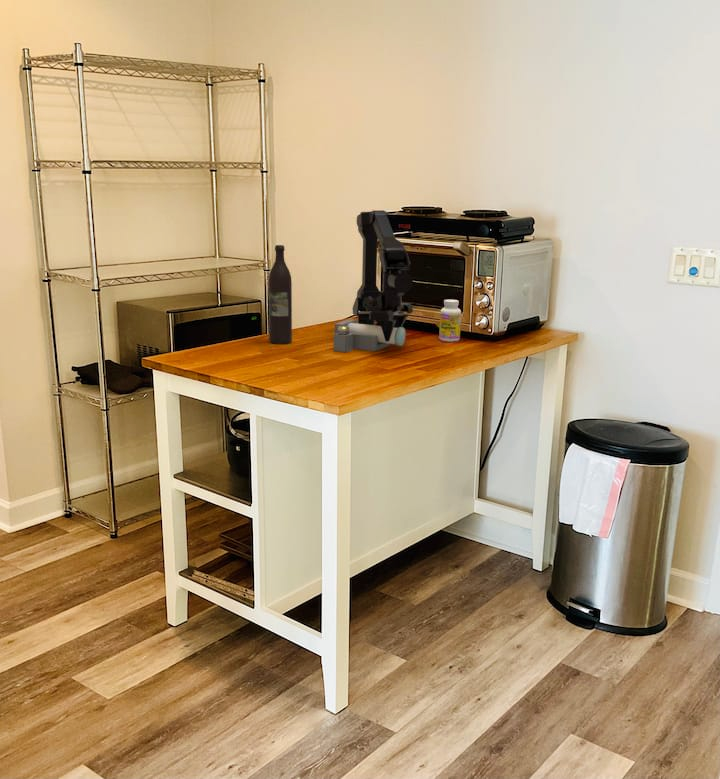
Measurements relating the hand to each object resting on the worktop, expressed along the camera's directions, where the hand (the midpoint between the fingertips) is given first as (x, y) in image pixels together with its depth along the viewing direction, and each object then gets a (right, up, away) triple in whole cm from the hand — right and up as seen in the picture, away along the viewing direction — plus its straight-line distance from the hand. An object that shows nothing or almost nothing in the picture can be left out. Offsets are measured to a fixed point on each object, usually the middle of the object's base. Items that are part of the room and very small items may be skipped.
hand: (391, 339), depth 245 cm
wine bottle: (-34, 0, +9) cm, 35 cm away
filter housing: (-10, -2, +3) cm, 11 cm away
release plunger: (-14, -3, -2) cm, 15 cm away
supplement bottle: (+20, +1, +16) cm, 25 cm away
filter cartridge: (-5, -1, +3) cm, 5 cm away
